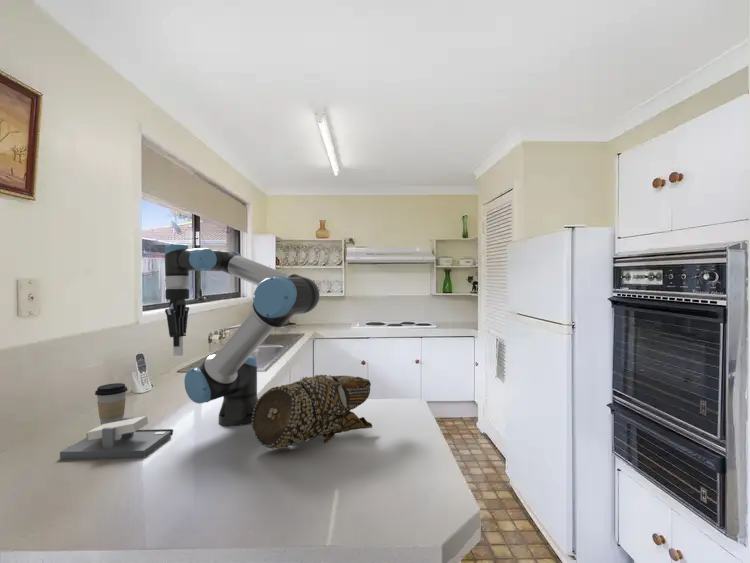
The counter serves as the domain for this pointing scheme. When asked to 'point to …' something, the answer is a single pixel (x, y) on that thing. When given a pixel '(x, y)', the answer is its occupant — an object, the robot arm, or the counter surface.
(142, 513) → the counter surface
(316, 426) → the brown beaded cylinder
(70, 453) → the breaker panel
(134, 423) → the plate
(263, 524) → the counter surface
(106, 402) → the coffee cup
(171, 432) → the cords
